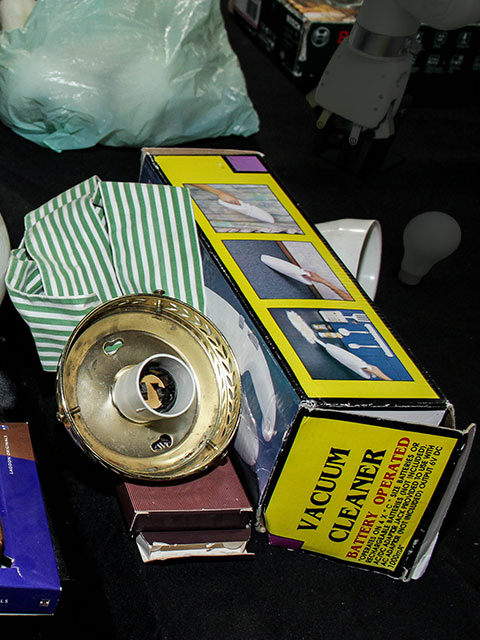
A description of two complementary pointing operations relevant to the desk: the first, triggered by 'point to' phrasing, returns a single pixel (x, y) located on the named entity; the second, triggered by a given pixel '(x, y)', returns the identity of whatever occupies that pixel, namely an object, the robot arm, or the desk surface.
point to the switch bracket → (374, 150)
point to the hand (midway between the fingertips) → (330, 156)
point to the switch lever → (338, 136)
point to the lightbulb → (427, 244)
